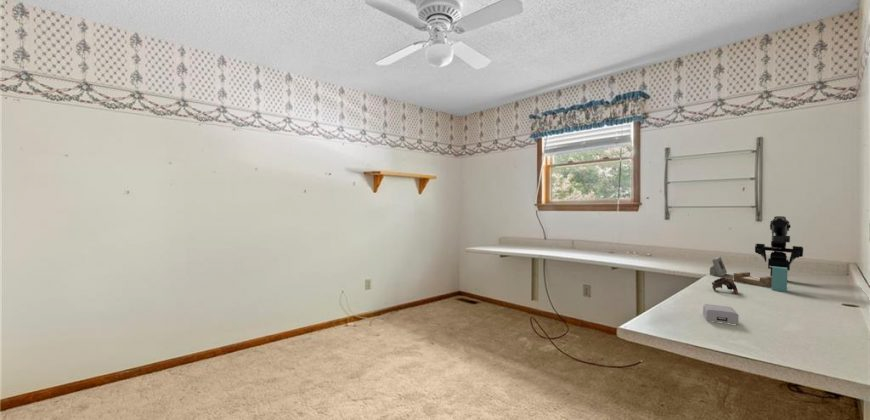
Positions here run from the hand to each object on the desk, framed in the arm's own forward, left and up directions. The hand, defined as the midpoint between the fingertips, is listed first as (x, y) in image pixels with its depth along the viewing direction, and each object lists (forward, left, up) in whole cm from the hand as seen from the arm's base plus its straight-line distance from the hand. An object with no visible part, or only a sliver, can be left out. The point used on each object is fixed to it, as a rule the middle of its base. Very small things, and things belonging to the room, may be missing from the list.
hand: (777, 262), depth 191 cm
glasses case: (+6, +5, -13) cm, 15 cm away
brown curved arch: (+37, +3, -13) cm, 40 cm away
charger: (+82, +34, -13) cm, 90 cm away
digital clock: (-2, -32, -13) cm, 34 cm away
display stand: (+1, -10, -13) cm, 16 cm away
